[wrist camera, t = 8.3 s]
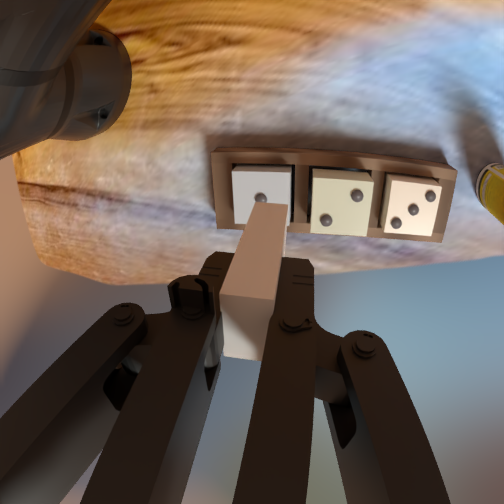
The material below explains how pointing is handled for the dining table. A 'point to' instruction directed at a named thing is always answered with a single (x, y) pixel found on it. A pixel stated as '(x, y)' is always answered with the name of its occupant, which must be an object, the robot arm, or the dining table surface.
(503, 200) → the pill bottle
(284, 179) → the tile one
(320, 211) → the tile two
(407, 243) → the dining table surface
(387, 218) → the tile three
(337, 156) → the tile tray
